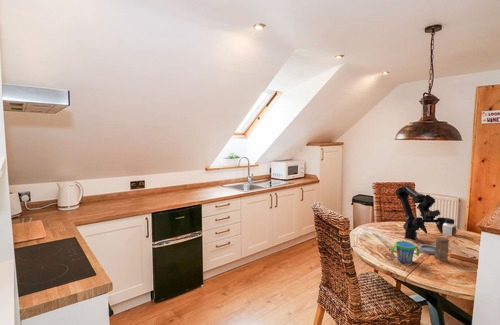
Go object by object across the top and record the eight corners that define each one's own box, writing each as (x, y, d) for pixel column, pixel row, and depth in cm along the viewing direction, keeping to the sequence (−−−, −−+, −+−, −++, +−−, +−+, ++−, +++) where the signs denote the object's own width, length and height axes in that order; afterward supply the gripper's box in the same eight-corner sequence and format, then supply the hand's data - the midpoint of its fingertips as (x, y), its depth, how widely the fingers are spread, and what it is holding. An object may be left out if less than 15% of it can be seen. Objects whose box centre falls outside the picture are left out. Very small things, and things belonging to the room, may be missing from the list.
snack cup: (414, 257, 170) (415, 241, 169) (422, 265, 159) (423, 248, 158) (387, 256, 172) (388, 240, 171) (394, 263, 162) (394, 247, 161)
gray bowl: (415, 250, 179) (415, 247, 179) (421, 245, 187) (421, 242, 187) (437, 256, 170) (437, 253, 170) (442, 250, 179) (442, 247, 179)
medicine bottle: (451, 236, 203) (452, 220, 202) (441, 233, 209) (442, 218, 208) (456, 234, 207) (457, 218, 206) (445, 231, 213) (446, 216, 212)
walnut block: (434, 257, 169) (435, 237, 168) (442, 257, 169) (443, 237, 167) (439, 261, 164) (440, 240, 163) (447, 261, 164) (448, 240, 163)
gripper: (415, 205, 177) (424, 227, 167) (445, 205, 176) (456, 227, 166) (408, 213, 186) (417, 235, 176) (437, 213, 185) (447, 235, 175)
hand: (434, 233), depth 173 cm, fingers open, 9 cm apart
